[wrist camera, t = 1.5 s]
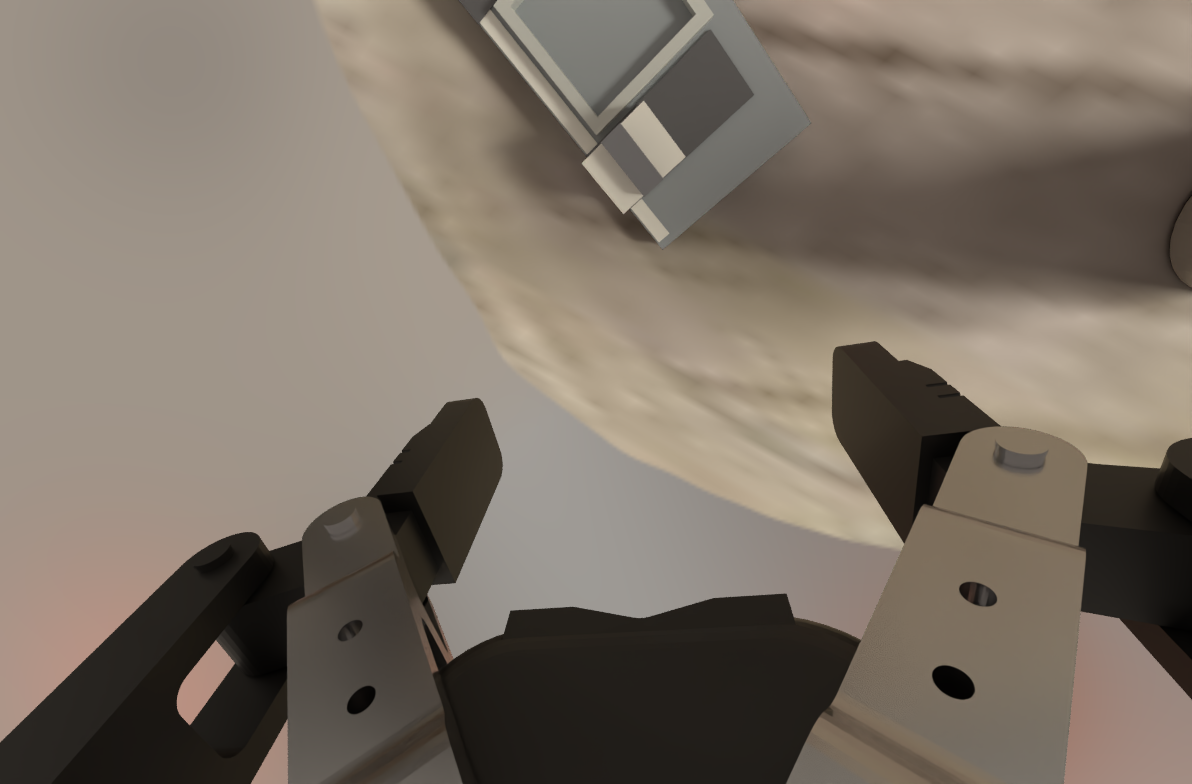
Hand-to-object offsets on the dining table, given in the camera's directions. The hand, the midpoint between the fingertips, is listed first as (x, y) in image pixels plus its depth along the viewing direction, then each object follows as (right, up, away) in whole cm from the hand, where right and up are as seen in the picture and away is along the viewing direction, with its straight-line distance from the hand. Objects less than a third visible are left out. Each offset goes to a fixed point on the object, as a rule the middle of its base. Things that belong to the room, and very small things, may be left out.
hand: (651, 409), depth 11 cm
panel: (-1, +20, +15) cm, 25 cm away
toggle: (+1, +13, +16) cm, 21 cm away
